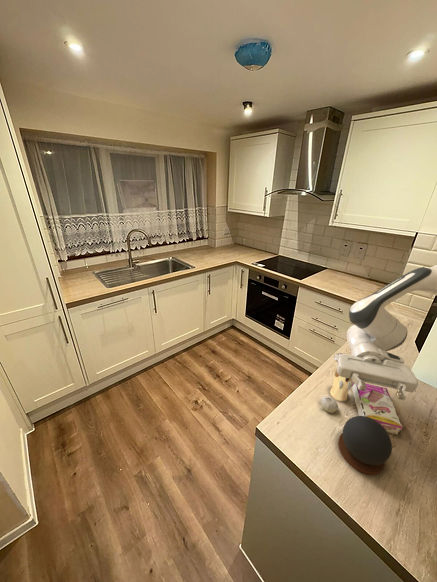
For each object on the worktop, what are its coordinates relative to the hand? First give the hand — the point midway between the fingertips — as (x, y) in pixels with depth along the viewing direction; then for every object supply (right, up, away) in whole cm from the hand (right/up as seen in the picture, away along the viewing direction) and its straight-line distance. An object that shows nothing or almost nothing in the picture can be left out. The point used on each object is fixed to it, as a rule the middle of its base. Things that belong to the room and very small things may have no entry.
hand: (382, 393), depth 63 cm
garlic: (-5, -15, +22) cm, 27 cm away
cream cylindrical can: (+2, -13, +27) cm, 30 cm away
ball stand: (-1, -22, +8) cm, 23 cm away
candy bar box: (+14, -10, +28) cm, 33 cm away
